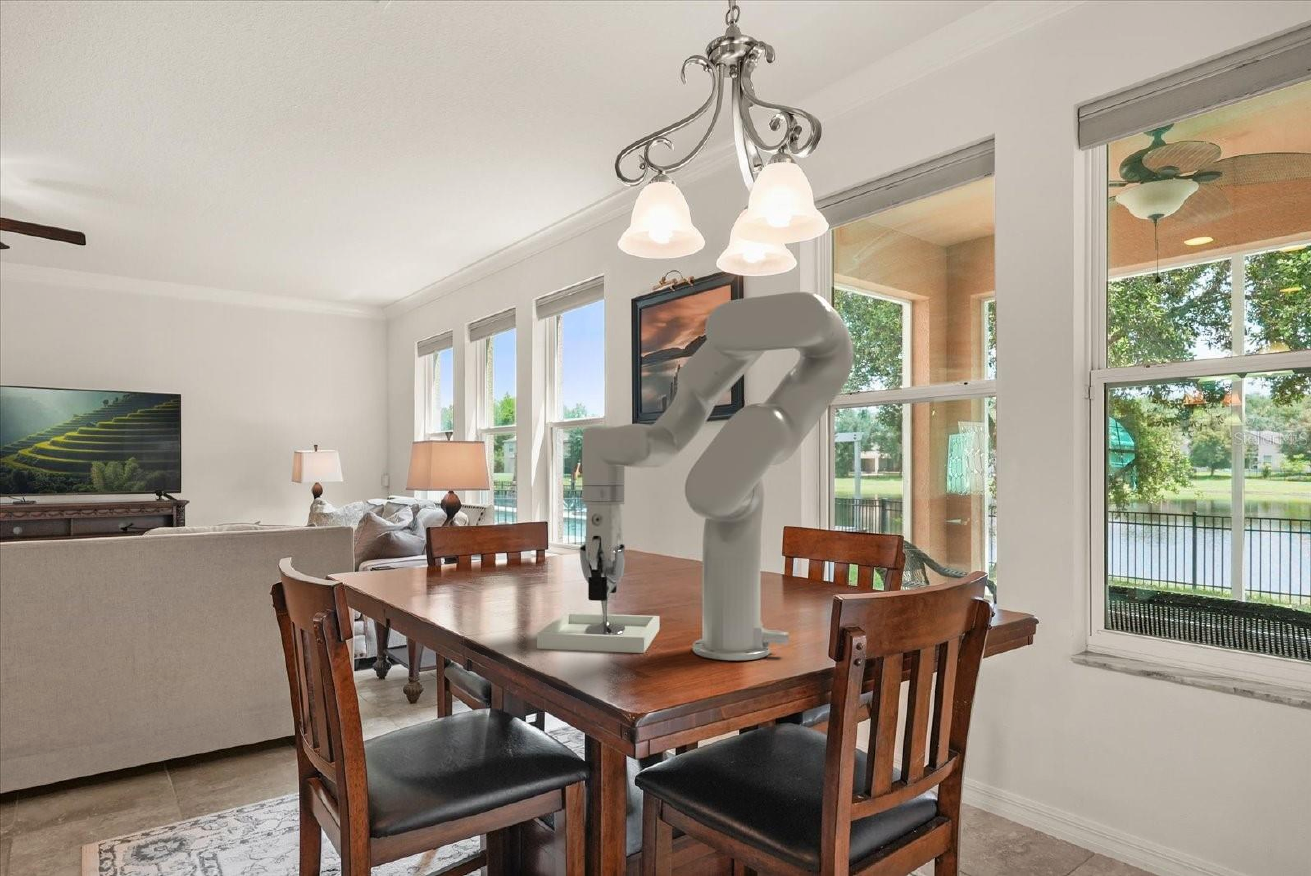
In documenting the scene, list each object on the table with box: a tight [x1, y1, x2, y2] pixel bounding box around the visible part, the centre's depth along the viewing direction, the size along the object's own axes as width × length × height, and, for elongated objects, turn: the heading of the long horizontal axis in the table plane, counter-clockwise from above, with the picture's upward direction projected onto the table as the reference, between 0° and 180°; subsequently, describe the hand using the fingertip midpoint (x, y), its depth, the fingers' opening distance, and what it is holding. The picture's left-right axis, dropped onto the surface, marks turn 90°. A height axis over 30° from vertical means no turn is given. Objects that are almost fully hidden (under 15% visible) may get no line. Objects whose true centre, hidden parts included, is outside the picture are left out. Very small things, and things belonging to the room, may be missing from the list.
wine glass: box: [579, 542, 626, 635], centre depth 135 cm, size 8×8×15 cm
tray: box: [536, 612, 660, 654], centre depth 134 cm, size 18×18×2 cm
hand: (602, 595), depth 134 cm, fingers open, 7 cm apart
